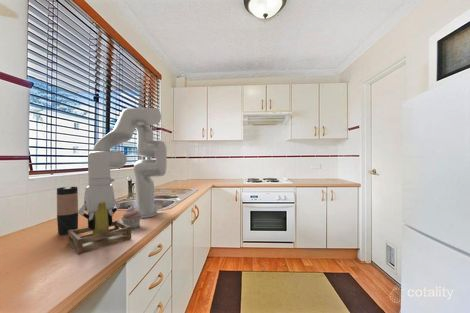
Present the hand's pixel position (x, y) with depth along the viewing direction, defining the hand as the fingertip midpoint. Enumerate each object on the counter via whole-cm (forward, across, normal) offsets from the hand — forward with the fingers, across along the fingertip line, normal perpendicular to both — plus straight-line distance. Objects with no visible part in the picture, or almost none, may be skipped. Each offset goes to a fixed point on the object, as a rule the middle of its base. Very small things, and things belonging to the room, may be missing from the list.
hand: (100, 226), depth 90 cm
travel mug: (+6, +6, -23) cm, 24 cm away
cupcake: (+6, -16, -8) cm, 19 cm away
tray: (+6, 0, 0) cm, 6 cm away
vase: (+4, 0, 0) cm, 4 cm away
